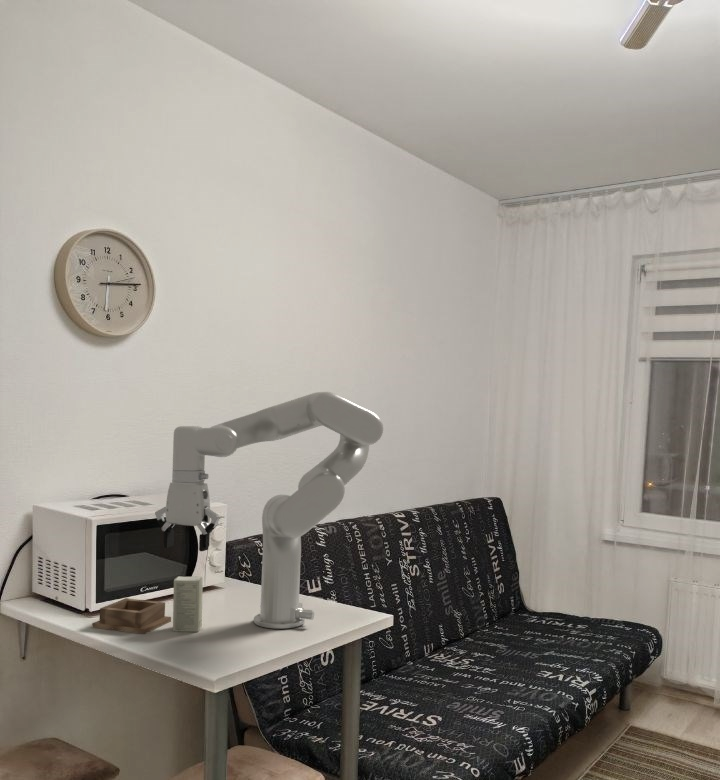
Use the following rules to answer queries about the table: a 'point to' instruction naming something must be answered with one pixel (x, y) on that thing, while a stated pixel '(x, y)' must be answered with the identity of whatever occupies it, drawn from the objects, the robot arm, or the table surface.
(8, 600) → the table surface
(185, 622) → the skincare box
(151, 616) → the socket block
